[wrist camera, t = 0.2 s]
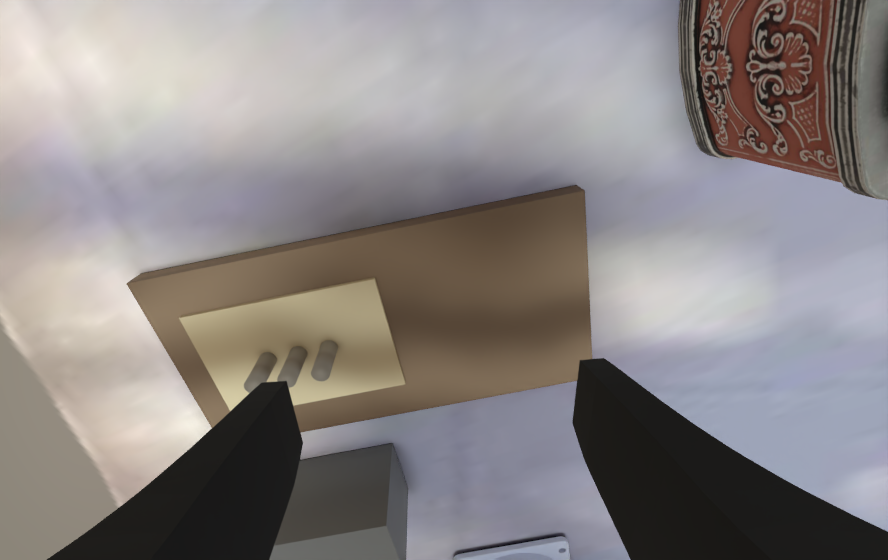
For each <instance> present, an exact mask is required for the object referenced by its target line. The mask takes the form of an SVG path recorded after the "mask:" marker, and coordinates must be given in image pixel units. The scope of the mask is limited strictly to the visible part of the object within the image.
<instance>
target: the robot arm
mask: <svg viewBox="0 0 888 560" xmlns="http://www.w3.org/2000/svg"><path fill="white" fill-rule="evenodd" d="M573 426H574V429H575V432H576V435H577V438H578V442H579V445H580V448H581V451H582V454H583V457H584V459H585V462H586V464H587V467H588V469H589V471H590V473H591V475H592V478H593V480H594V482H595V484H596V486H597V488H598V491H599V493H600V495H601V497H602V499H603V501H604V503H605V506H606V508H607V510H608V512H609V514H610V516H611V518H612V520H613V523H614V525H615V527H616V529H617V531H618V533H619V535H620V537H621V540H622V542H623V544H624V546H625V548H626V550H627V552H628V554H629V557H630V559H631V560H888V532H887V531H885V530H883V529H881V528H879V527H877V526H874V525H872V524H870V523H868V522H866V521H864V520H862V519H860V518H858V517H855V516H853V515H851V514H849V513H847V512H846V511H844V510H842V509H840V508H838V507H836V506H834V505H832V504H830V503H828V502H826V501H824V500H822V499H820V498H818V497H816V496H814V495H812V494H810V493H808V492H806V491H804V490H802V489H801V488H799V487H797V486H795V485H793V484H791V483H789V482H788V481H786V480H784V479H782V478H780V477H779V476H777V475H775V474H774V473H772V472H770V471H768V470H767V469H765V468H763V467H761V466H760V465H758V464H756V463H754V462H753V461H751V460H749V459H748V458H746V457H744V456H743V455H741V454H739V453H738V452H736V451H734V450H733V449H731V448H730V447H728V446H726V445H725V444H723V443H722V442H720V441H719V440H717V439H716V438H714V437H713V436H711V435H710V434H708V433H707V432H705V431H704V430H702V429H700V428H699V427H697V426H696V425H695V424H693V423H692V422H690V421H689V420H687V419H686V418H684V417H683V416H682V415H680V414H679V413H677V412H676V411H675V410H673V409H672V408H670V407H669V406H668V405H666V404H665V403H663V402H662V401H661V400H659V399H658V398H657V397H655V396H654V395H653V394H651V393H650V392H649V391H647V390H646V389H645V388H643V387H642V386H641V385H639V384H638V383H637V382H635V381H634V380H633V379H631V378H630V377H629V376H627V375H626V374H625V373H623V372H622V371H621V370H619V369H618V368H617V367H615V366H614V365H613V364H611V363H610V362H609V361H607V360H606V359H604V358H602V359H588V360H580V362H579V371H578V379H577V388H576V397H575V406H574V414H573ZM302 445H303V441H302V438H301V434H300V430H299V426H298V422H297V418H296V415H295V411H294V407H293V403H292V399H291V396H290V392H289V388H288V384H287V381H277V382H263V383H260V384H259V385H258V386H257V387H256V388H255V389H254V390H253V391H251V392H250V393H249V394H248V395H247V396H246V397H245V398H244V399H243V400H242V401H241V402H240V403H239V404H238V405H237V406H235V407H234V408H233V409H232V410H231V411H230V412H229V413H228V414H227V415H226V416H225V417H224V418H223V419H222V420H221V421H220V422H218V423H217V424H216V425H215V426H214V427H213V428H212V429H211V430H210V431H209V432H208V433H207V434H206V435H204V436H203V437H202V438H201V439H200V440H199V441H198V442H197V443H196V444H195V445H194V446H193V447H191V448H190V449H189V450H188V451H187V452H186V453H184V454H183V455H182V456H181V457H180V458H179V459H177V460H176V461H175V462H174V463H173V464H172V465H171V466H169V467H168V468H167V469H166V470H165V471H164V472H162V473H161V474H160V475H159V476H158V477H157V478H155V479H154V480H153V481H152V482H151V483H150V484H148V485H147V486H146V487H145V488H143V489H142V490H141V491H140V492H139V493H137V494H136V495H135V496H134V497H132V498H131V499H130V500H128V501H127V502H126V503H125V504H123V505H122V506H121V507H120V508H118V509H117V510H116V511H114V512H113V513H112V514H110V515H109V516H108V517H106V518H105V519H104V520H102V521H101V522H100V523H98V524H97V525H96V526H95V527H93V528H92V529H90V530H89V531H88V532H86V533H85V534H84V535H82V536H81V537H79V538H78V539H76V540H75V541H73V542H72V543H71V544H69V545H68V546H66V547H65V548H63V549H62V550H60V551H59V552H57V553H56V554H54V555H53V556H51V557H50V558H48V559H47V560H269V559H270V556H271V553H272V550H273V547H274V544H275V541H276V538H277V535H278V532H279V530H280V527H281V524H282V521H283V518H284V515H285V512H286V509H287V506H288V503H289V500H290V497H291V493H292V490H293V487H294V484H295V480H296V475H297V470H298V466H299V461H300V455H301V450H302ZM453 560H570V552H569V544H568V541H567V538H565V537H563V536H559V537H554V538H548V539H542V540H536V541H531V542H525V543H519V544H513V545H508V546H502V547H496V548H491V549H485V550H479V551H473V552H468V553H462V554H457V555H456V556H454V558H453Z"/></svg>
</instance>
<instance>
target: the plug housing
mask: <svg viewBox="0 0 888 560" xmlns="http://www.w3.org/2000/svg"><path fill="white" fill-rule="evenodd" d="M407 506H408V487H407V485H406V482H405V479H404V476H403V473H402V470H401V467H400V464H399V461H398V458H397V455H396V452H395V449H394V447H393V444H392V443H391V444H386V445H380V446H375V447H370V448H364V449H359V450H353V451H348V452H343V453H337V454H332V455H326V456H321V457H315V458H310V459H305V460H300V461H299V466H298V470H297V475H296V480H295V484H294V487H293V490H292V493H291V497H290V500H289V503H288V506H287V509H286V512H285V515H284V518H283V521H282V524H281V527H280V530H279V532H278V535H277V538H276V541H275V544H274V547H273V550H272V553H271V556H270V559H269V560H406V542H407Z"/></svg>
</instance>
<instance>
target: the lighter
mask: <svg viewBox="0 0 888 560" xmlns="http://www.w3.org/2000/svg"><path fill="white" fill-rule="evenodd" d="M678 33H679V67H680V76H681V82H682V88H683V94H684V100H685V106H686V111H687V114H688V118H689V121H690V124H691V127H692V131H693V134H694V137H695V140H696V144H697V145H698V147H699V149H700V150H701V151H702V152H704V153H706V154H708V155H711V156H715V157H719V158H724V159H735V158H743V159H747V160H751V161H755V162H759V163H763V164H767V165H772V166H776V167H780V168H784V169H788V170H792V171H796V172H800V173H804V174H809V175H813V176H817V177H821V178H825V179H829V180H833V181H837V182H841V183H842V184H843V186H844V187H846V188H847V189H849V190H850V191H852V192H854V193H857V194H861V195H865V196H869V197H872V198H876V199H881V200H888V0H680V9H679V22H678Z"/></svg>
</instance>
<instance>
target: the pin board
mask: <svg viewBox="0 0 888 560" xmlns="http://www.w3.org/2000/svg"><path fill="white" fill-rule="evenodd" d="M127 285H128V287H129V289H130V290H131V292H132V294H133V295H134V297H135V299H136V300H137V302H138V304H139V305H140V307H141V309H142V311H143V312H144V314H145V316H146V317H147V319H148V321H149V322H150V324H151V326H152V327H153V329H154V331H155V332H156V334H157V336H158V338H159V339H160V341H161V343H162V344H163V346H164V348H165V349H166V351H167V353H168V354H169V356H170V358H171V359H172V361H173V363H174V365H175V366H176V368H177V370H178V371H179V373H180V375H181V376H182V378H183V380H184V381H185V383H186V385H187V386H188V388H189V390H190V392H191V393H192V395H193V397H194V398H195V400H196V402H197V403H198V405H199V407H200V408H201V410H202V412H203V413H204V415H205V417H206V418H207V420H208V422H209V424H210V425H211V427H212V428H213V427H214V426H215V425H216V424H217V423H218V422H220V421H221V420H222V419H223V418H224V417H225V416H226V415H227V414H228V413H229V412H230V411H231V410H232V409H233V408H234V407H235V406H237V405H238V404H239V403H240V402H241V401H242V400H243V399H244V398H245V397H246V396H247V395H248V394H249V393H250V392H251V391H253V390H254V389H255V388H256V387H257V386H258V385H259V384H260V383H263V382H277V381H287V384H288V388H289V392H290V396H291V399H292V403H293V407H294V411H295V415H296V418H297V422H298V426H299V430H300V432H305V431H310V430H316V429H321V428H327V427H332V426H337V425H343V424H348V423H353V422H359V421H364V420H369V419H375V418H380V417H385V416H391V415H396V414H401V413H407V412H412V411H417V410H423V409H428V408H433V407H439V406H444V405H450V404H455V403H460V402H466V401H471V400H476V399H482V398H487V397H492V396H498V395H503V394H508V393H514V392H519V391H524V390H530V389H535V388H540V387H546V386H551V385H556V384H562V383H567V382H572V381H577V379H578V371H579V362H580V360H588V359H592V346H591V323H590V301H589V278H588V256H587V233H586V211H585V191H584V190H583V189H581V188H580V187H578V186H577V185H575V186H570V187H565V188H560V189H555V190H550V191H545V192H540V193H536V194H531V195H526V196H521V197H516V198H511V199H506V200H501V201H496V202H491V203H486V204H482V205H477V206H472V207H467V208H462V209H457V210H452V211H447V212H442V213H437V214H432V215H427V216H423V217H418V218H413V219H408V220H403V221H398V222H393V223H388V224H383V225H378V226H373V227H368V228H364V229H359V230H354V231H349V232H344V233H339V234H334V235H329V236H324V237H319V238H314V239H309V240H305V241H300V242H295V243H290V244H285V245H280V246H275V247H270V248H265V249H260V250H255V251H251V252H246V253H241V254H236V255H231V256H226V257H221V258H216V259H211V260H206V261H201V262H196V263H192V264H187V265H182V266H177V267H172V268H167V269H162V270H157V271H152V272H147V273H142V274H140V275H138V276H137V277H135V278H134V279H132V280H131V281H130V282H128V283H127Z"/></svg>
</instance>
